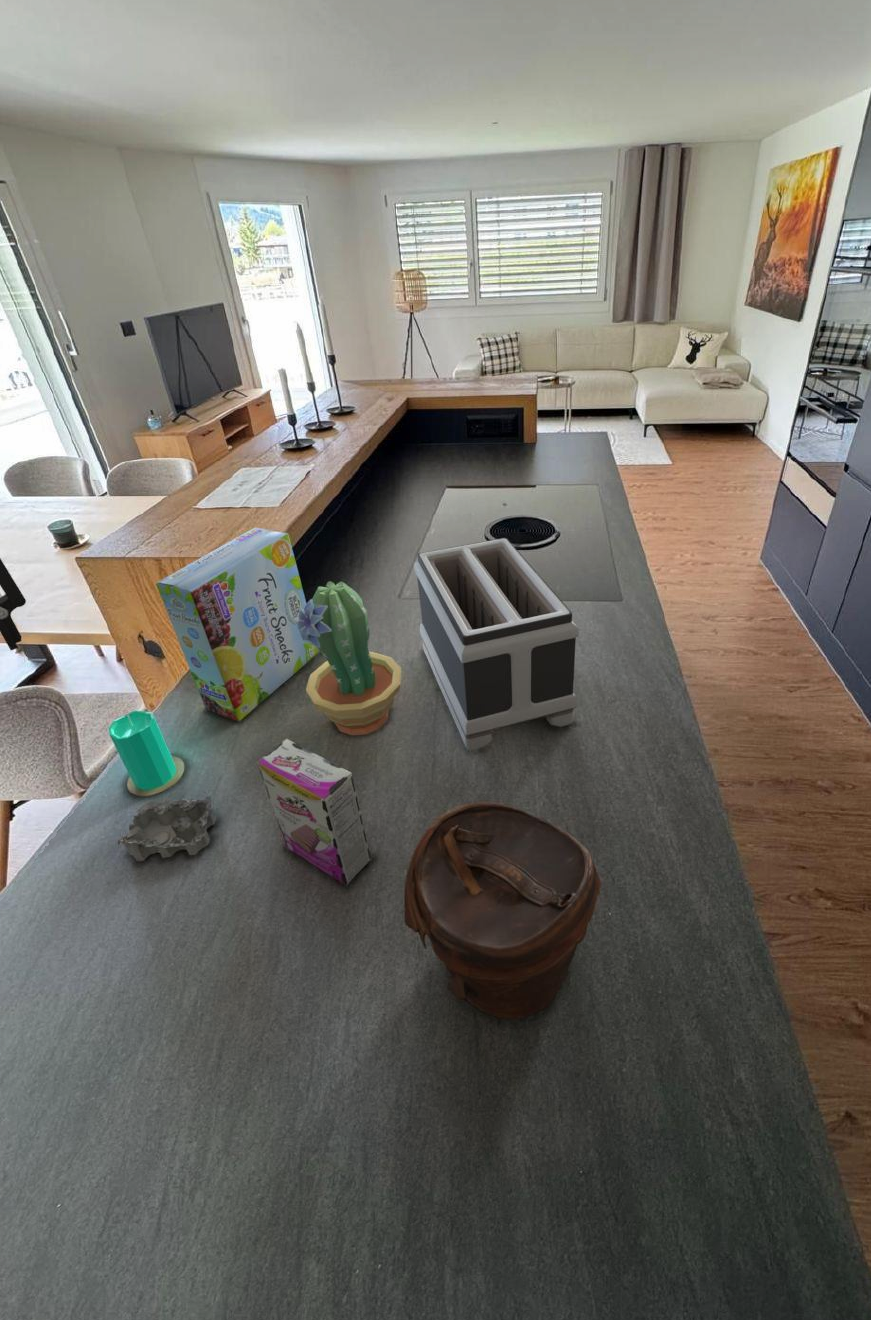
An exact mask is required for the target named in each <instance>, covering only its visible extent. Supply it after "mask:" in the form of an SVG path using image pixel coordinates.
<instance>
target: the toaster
mask: <svg viewBox="0 0 871 1320" xmlns="http://www.w3.org/2000/svg"><path fill="white" fill-rule="evenodd" d="M416 556H417V561H415V562H414V564H413V566H414V573H415V574H416V578H417V579H416V580H417V587H418V588H417V589H418V595H419V597H418V598H419V605H420V614H421V622H420V623H419V624H420V625H419V632H420V636H421V640H422V648H423V652H424V654H425V657H426V659H427V661H428V664H429V666H430V668H431V671H432V672H433V675H434V678H435V680H436V683H437V684H438V687H439V689H440V691H441V694H442V697H443V698H444V700H445V703H446V705H447V707H448V709H449V712H450V714H451V716H452V719H453V721H454V723H455V725H456V728H457V730H458V733H459V735H460V736H461V737H460V738H461V740H462V741H463V744H464V746H465V749H466V750H468V751H474V750H479V749H483V748H485V746H486V745H488V744H489V743H490V742H492V740H493V734H492V732H493V730H497V729H502V728H506V727H510V726H513V725H518V724H521V723H525V722H529V721H533V720H537V719H540V718H545V719H546V720H547V722H548V723H549V725H550V726H554V727H555V726H556V727H558V728H561V727H566V726H569V725H571V724H573V723H574V714H575V713H574V712H575V709H576V708H577V707H578V700H577V697H576V695H575V693H574V685H575V681H574V680H575V659H576V643H577V642H576V641H577V639H576V638H578V637H579V627H578V626H577V625H576V623H575V622H574V621H573V612H572V611H571V610H570V608H568V606H567V605H566V604H565V602H563V601H562V600H561V598H560V597H559V596H558V595H557V594H556V593H555V591H554V590H553V589H552V588H551V587H550V586H549V584H548V583H547V582H546V581H545V580H544V579H543V578H542V577H541V576H540V575H539V573H538V572H537V571H536V569H534V568H533V567H532V565H531V564H530V563H529V562H528V561H527V560H526V559H525V557H524V556H523V555H522V554H521V553H520V551H518V549H517V548H516V546H514V545H513V543H512V542H511V541H510V539H508V538H507V537H501V538H496V539H495V538H494V539H490V540H484V541H479V542H474V543H473V542H472V543H468V544H462V545H456V546H452V547H445V548H439V549H435V550H430V551H429V550H427V551H424V552H418V553H417V555H416Z"/></svg>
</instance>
